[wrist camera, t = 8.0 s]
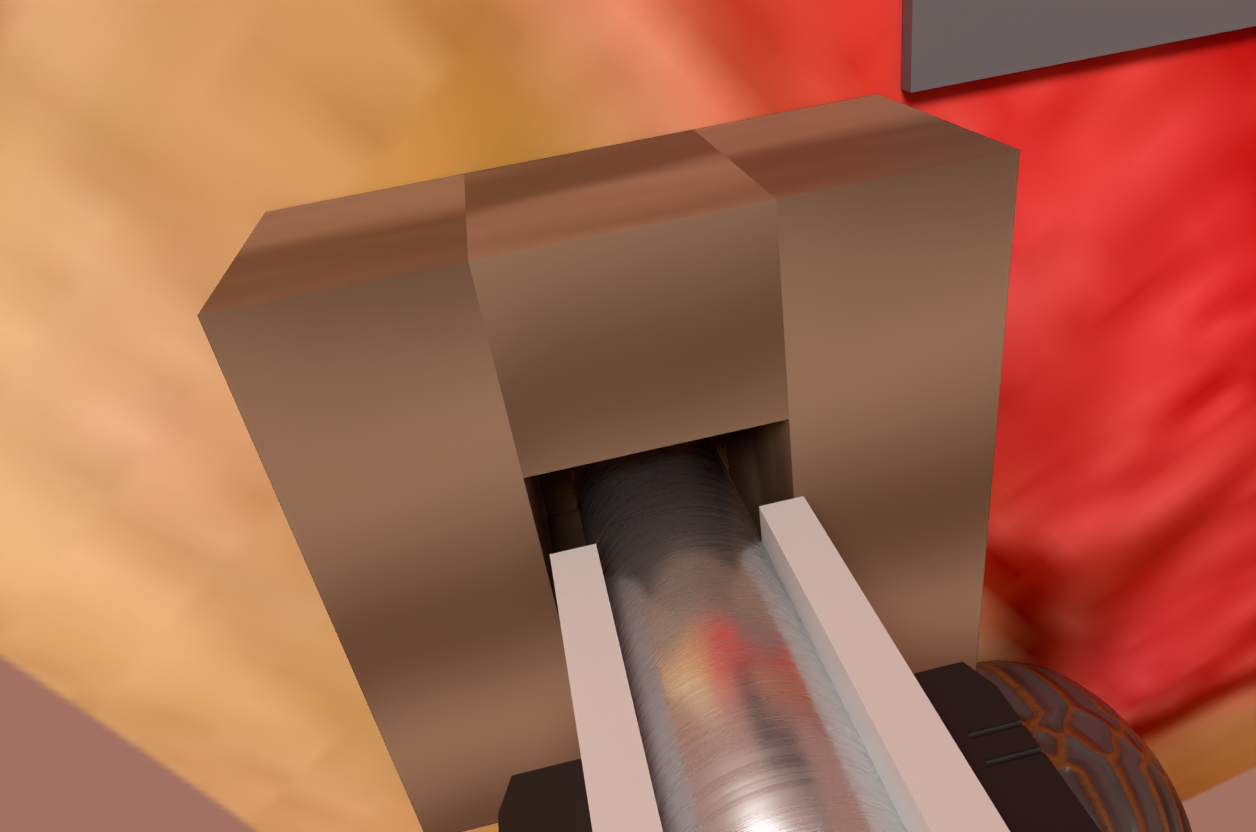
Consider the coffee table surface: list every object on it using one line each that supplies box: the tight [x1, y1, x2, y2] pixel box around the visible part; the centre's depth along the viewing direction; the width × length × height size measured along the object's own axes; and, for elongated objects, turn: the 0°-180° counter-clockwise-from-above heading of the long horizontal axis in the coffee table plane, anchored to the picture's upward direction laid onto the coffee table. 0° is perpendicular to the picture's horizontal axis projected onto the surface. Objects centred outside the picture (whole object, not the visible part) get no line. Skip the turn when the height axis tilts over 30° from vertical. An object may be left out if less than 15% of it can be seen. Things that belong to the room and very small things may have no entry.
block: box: [197, 94, 1020, 832], centre depth 18 cm, size 12×12×5 cm
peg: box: [570, 437, 907, 832], centre depth 13 cm, size 3×3×12 cm
